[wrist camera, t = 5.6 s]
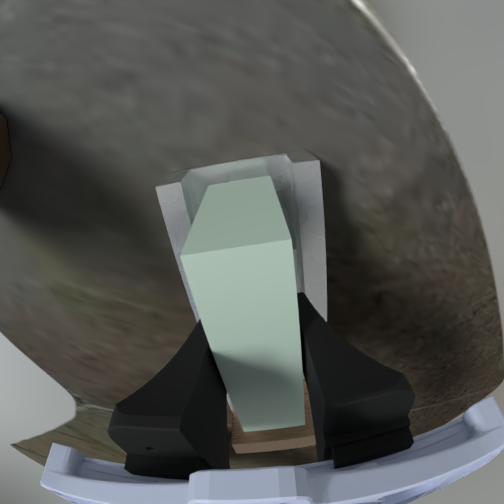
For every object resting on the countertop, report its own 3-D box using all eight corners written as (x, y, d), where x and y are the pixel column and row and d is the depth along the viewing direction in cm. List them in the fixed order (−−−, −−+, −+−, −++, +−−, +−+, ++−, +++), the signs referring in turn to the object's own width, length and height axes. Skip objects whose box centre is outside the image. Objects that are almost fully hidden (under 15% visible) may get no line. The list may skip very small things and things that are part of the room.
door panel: (294, 329, 19) (311, 423, 12) (243, 336, 19) (244, 431, 13) (276, 174, 14) (302, 237, 8) (208, 185, 14) (179, 255, 8)
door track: (318, 385, 24) (330, 442, 19) (237, 396, 25) (236, 453, 19) (306, 150, 15) (340, 176, 10) (170, 172, 15) (132, 210, 10)
